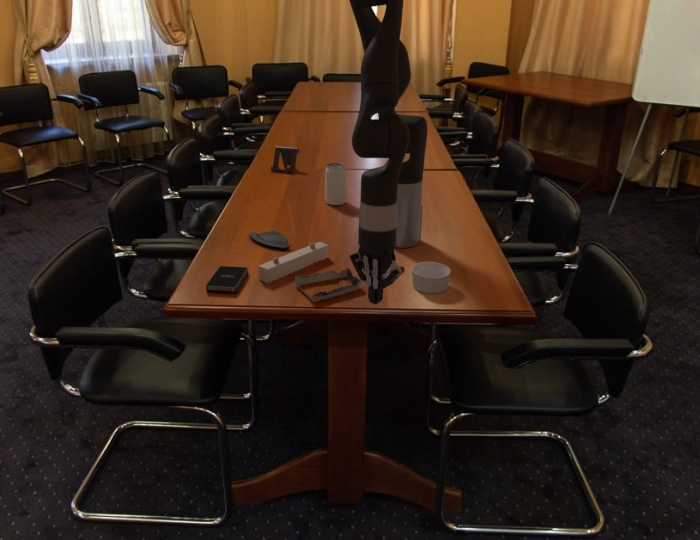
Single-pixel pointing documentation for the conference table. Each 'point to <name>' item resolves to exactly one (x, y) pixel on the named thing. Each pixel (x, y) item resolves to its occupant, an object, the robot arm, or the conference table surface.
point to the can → (335, 184)
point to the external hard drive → (227, 280)
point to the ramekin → (430, 277)
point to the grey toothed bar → (292, 262)
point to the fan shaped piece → (270, 240)
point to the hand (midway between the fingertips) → (375, 302)
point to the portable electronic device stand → (285, 159)
